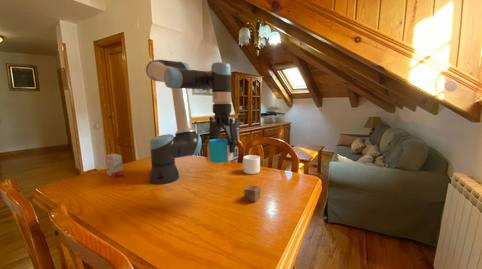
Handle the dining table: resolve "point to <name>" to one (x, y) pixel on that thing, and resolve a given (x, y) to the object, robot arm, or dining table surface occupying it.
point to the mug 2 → (251, 164)
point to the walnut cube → (252, 193)
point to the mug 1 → (218, 150)
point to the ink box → (114, 165)
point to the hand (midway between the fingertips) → (223, 158)
